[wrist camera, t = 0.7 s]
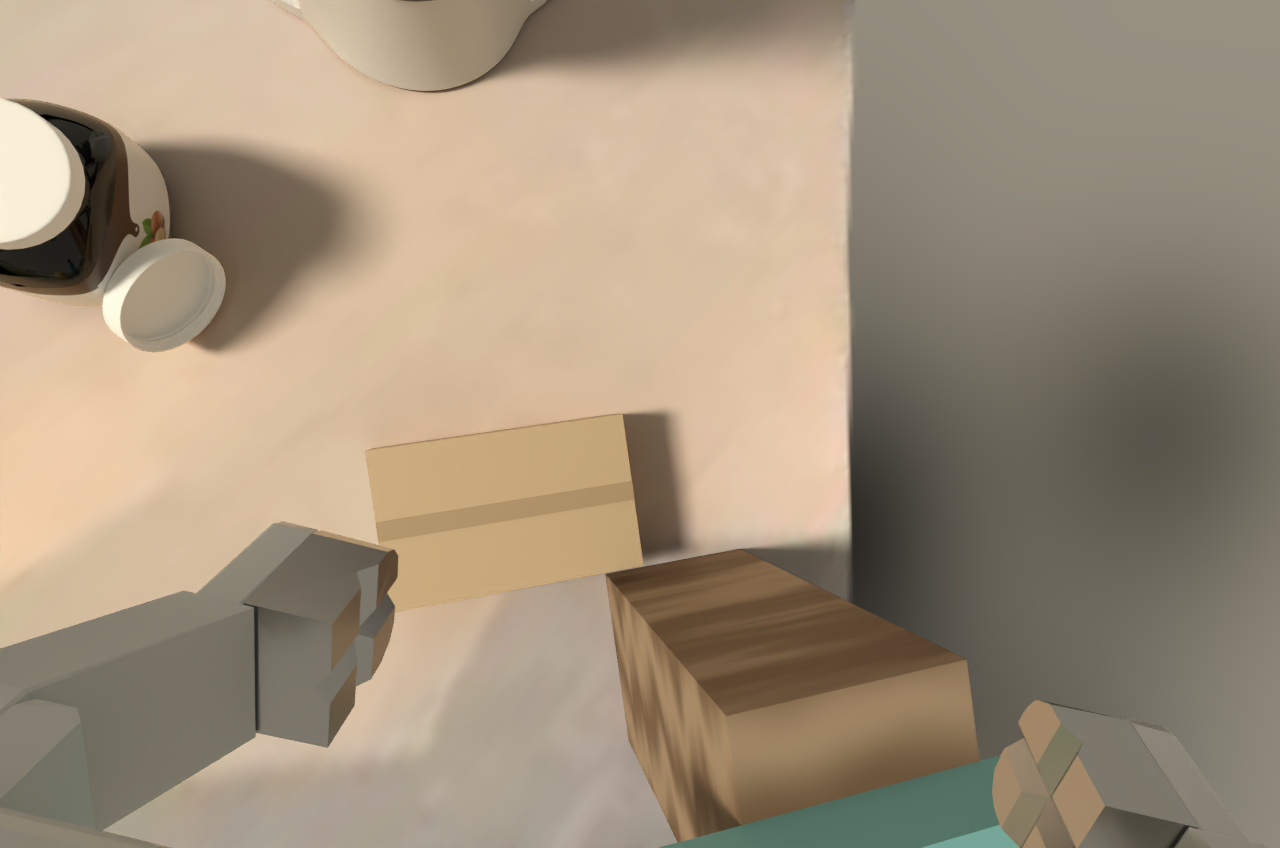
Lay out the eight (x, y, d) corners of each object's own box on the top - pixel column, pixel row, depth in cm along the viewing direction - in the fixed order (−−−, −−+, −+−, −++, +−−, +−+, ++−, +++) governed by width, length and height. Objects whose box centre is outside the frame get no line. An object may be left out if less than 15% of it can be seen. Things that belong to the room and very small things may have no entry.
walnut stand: (605, 574, 53) (726, 716, 28) (739, 548, 55) (967, 659, 30) (629, 741, 53) (769, 1032, 28) (761, 709, 56) (1003, 954, 30)
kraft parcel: (373, 448, 50) (364, 450, 46) (611, 414, 53) (622, 414, 49) (396, 598, 50) (389, 613, 46) (631, 555, 53) (643, 565, 49)
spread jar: (50, 135, 46) (-91, 41, 34) (251, 177, 48) (182, 102, 37) (15, 332, 45) (-139, 302, 34) (220, 364, 48) (140, 346, 36)
